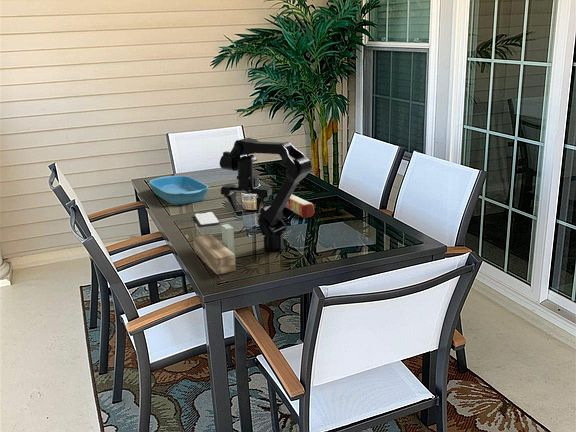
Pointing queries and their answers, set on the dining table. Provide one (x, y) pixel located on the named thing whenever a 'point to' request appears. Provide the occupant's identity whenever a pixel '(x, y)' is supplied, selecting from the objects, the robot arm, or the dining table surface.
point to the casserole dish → (179, 189)
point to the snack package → (300, 206)
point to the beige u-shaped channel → (214, 254)
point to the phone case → (206, 219)
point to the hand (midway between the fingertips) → (247, 212)
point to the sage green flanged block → (228, 237)
